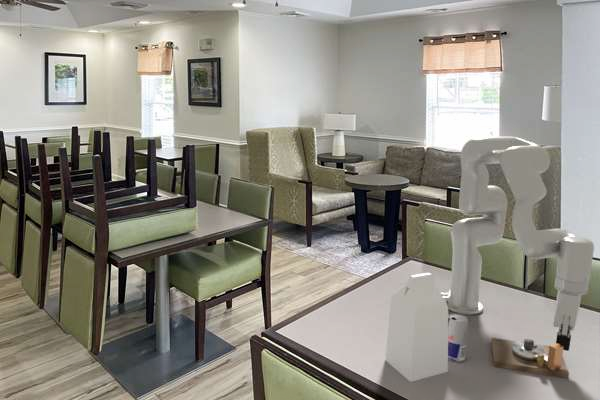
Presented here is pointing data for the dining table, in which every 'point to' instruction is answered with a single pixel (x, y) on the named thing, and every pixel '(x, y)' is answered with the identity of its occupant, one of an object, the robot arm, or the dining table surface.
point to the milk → (418, 329)
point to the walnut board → (510, 361)
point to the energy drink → (457, 337)
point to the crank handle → (550, 361)
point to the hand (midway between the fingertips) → (562, 348)
